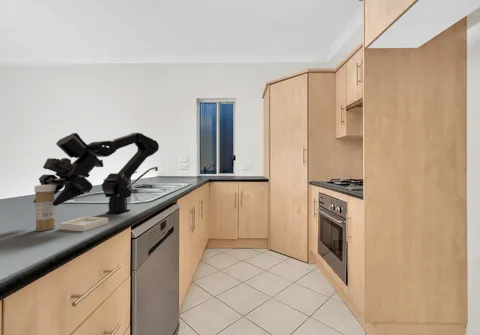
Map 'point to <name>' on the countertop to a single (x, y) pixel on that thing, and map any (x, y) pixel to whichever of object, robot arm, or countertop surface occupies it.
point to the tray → (83, 223)
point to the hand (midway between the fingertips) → (44, 204)
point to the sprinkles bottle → (45, 207)
